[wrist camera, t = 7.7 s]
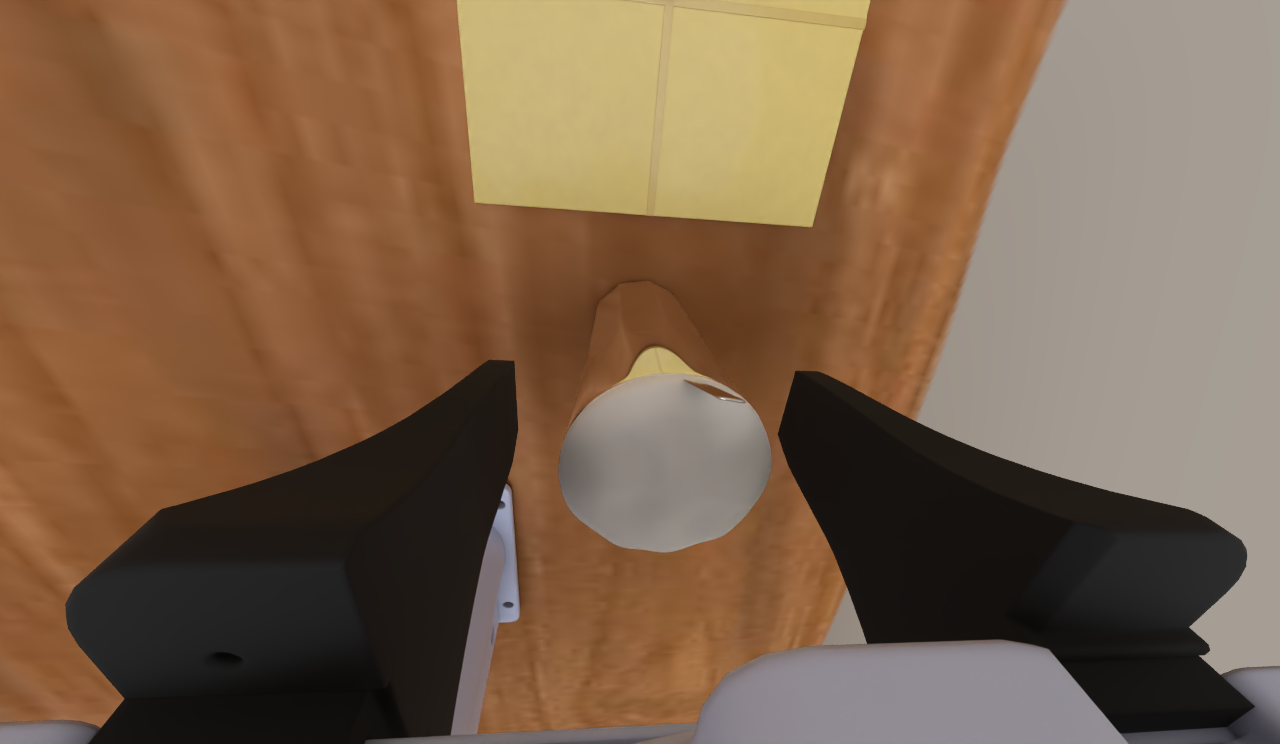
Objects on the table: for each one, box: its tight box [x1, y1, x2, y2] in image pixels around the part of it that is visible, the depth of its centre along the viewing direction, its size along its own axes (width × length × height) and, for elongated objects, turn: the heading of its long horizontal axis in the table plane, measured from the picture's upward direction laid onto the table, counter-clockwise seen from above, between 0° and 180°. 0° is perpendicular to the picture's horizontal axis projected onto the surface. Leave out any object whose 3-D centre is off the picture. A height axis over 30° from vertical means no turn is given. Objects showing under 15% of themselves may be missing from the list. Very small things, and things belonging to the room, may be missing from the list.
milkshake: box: [558, 280, 772, 552], centre depth 12 cm, size 4×5×10 cm
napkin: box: [456, 0, 871, 227], centre depth 12 cm, size 11×11×1 cm
